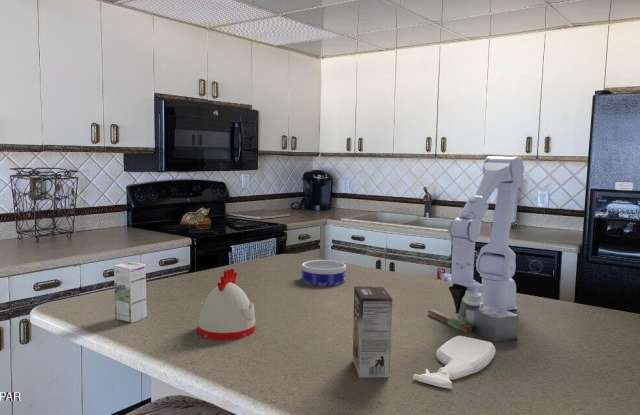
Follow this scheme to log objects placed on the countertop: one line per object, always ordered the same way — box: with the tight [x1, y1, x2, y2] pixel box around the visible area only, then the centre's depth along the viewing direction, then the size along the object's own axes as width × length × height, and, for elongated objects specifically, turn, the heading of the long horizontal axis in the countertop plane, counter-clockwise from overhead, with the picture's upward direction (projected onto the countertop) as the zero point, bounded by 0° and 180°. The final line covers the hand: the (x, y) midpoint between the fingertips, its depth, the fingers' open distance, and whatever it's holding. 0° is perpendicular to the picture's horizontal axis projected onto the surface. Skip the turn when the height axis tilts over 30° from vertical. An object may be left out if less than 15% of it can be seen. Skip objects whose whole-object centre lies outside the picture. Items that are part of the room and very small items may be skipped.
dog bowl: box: [301, 259, 347, 287], centre depth 181 cm, size 15×15×6 cm
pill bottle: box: [457, 289, 481, 324], centre depth 136 cm, size 5×5×8 cm
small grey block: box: [466, 303, 490, 332], centre depth 131 cm, size 7×7×7 cm
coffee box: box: [352, 285, 393, 379], centre depth 106 cm, size 9×6×16 cm
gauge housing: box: [472, 307, 519, 343], centre depth 128 cm, size 7×8×6 cm
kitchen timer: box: [197, 268, 256, 341], centre depth 128 cm, size 14×14×15 cm
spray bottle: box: [412, 335, 497, 389], centre depth 109 cm, size 3×11×24 cm
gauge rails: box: [427, 308, 473, 334], centre depth 139 cm, size 11×16×2 cm
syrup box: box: [113, 261, 148, 324], centre depth 134 cm, size 6×6×14 cm
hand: (460, 312), depth 140 cm, fingers closed
